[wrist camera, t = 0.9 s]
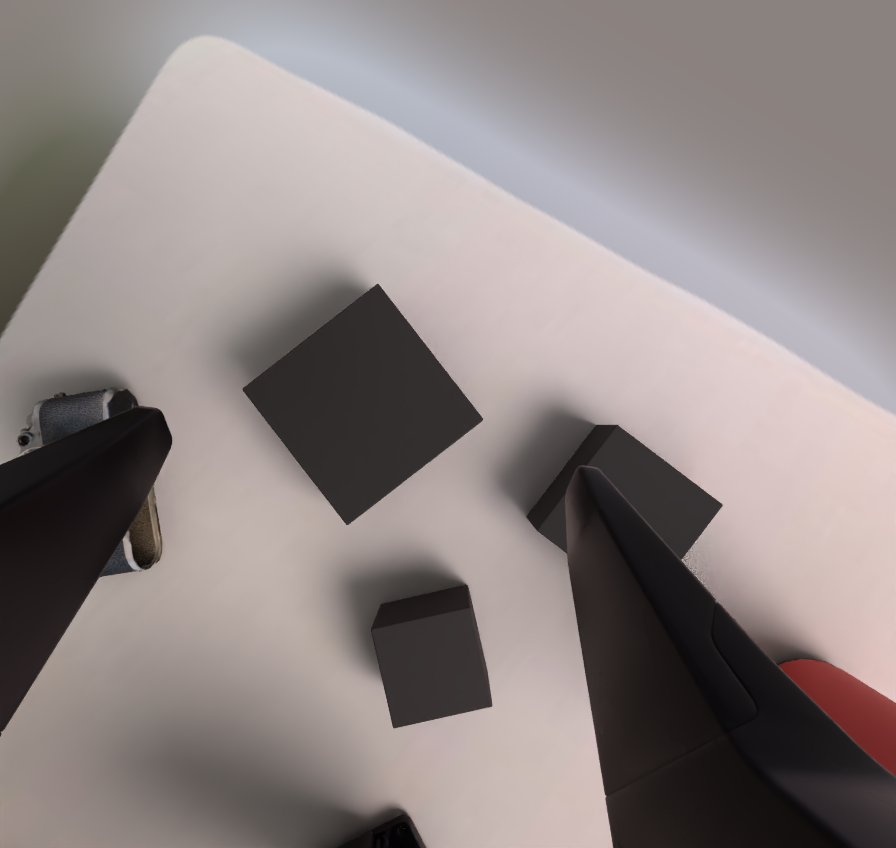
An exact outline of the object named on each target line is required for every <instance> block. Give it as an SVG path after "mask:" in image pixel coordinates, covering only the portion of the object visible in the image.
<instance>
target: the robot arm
mask: <svg viewBox="0 0 896 848" xmlns="http://www.w3.org/2000/svg"><path fill="white" fill-rule="evenodd" d="M171 445H172V436H171V433H170V430H169V428H168V425H167V423H166V420H165V418H164V415H163V413H162V412H161V411H160V410H159V409H157V408H153V407H145V406H136V407H133V408H131V409H129V410H126V411H124V412H122V413H119V414H117V415H115V416H112V417H110V418H108V419H106V420H103V421H101V422H99V423H96V424H94V425H92V426H89V427H87V428H85V429H82V430H80V431H78V432H75V433H73V434H71V435H68V436H66V437H64V438H61V439H59V440H57V441H55V442H52V443H50V444H48V445H45V446H43V447H41V448H38V449H36V450H34V451H31V452H29V453H27V454H24V455H22V456H20V457H17V458H15V459H13V460H11V461H8V462H6V463H4V464H1V465H0V736H1V734H2V733H1V732H2V731H3V730H4V729H5V727H6V726H7V724H8V723H9V721H10V719H11V718H12V716H13V715H14V713H15V711H16V710H17V708H18V707H19V705H20V703H21V702H22V700H23V699H24V697H25V695H26V694H27V692H28V691H29V689H30V687H31V686H32V684H33V682H34V681H35V679H36V678H37V676H38V674H39V673H40V671H41V670H42V668H43V666H44V665H45V663H46V662H47V660H48V658H49V657H50V655H51V654H52V652H53V650H54V649H55V647H56V646H57V644H58V642H59V641H60V639H61V638H62V636H63V634H64V633H65V631H66V630H67V628H68V626H69V625H70V623H71V622H72V620H73V618H74V617H75V615H76V613H77V612H78V610H79V609H80V607H81V605H82V604H83V602H84V601H85V599H86V597H87V596H88V594H89V593H90V591H91V589H92V588H93V586H94V585H95V583H96V581H97V580H98V578H99V577H100V575H101V573H102V572H103V570H104V569H105V567H106V565H107V564H108V562H109V561H110V559H111V557H112V556H113V554H114V552H115V551H116V549H117V548H118V546H119V544H120V543H121V541H122V540H123V538H124V536H125V535H126V533H127V532H128V530H129V528H130V527H131V525H132V524H133V522H134V520H135V519H136V517H137V515H138V514H139V512H140V510H141V509H142V507H143V505H144V503H145V501H146V499H147V497H148V495H149V493H150V491H151V489H152V486H153V484H154V482H155V480H156V478H157V476H158V474H159V472H160V470H161V468H162V465H163V463H164V461H165V459H166V457H167V455H168V453H169V451H170V449H171ZM565 508H566V532H567V555H568V566H569V574H570V580H571V586H572V592H573V599H574V605H575V611H576V617H577V623H578V630H579V636H580V642H581V648H582V655H583V661H584V667H585V673H586V679H587V686H588V692H589V698H590V704H591V711H592V717H593V723H594V729H595V735H596V742H597V748H598V754H599V760H600V767H601V773H602V779H603V785H604V792H605V795H606V796H607V797H606V805H607V812H608V818H609V824H610V830H611V837H612V843H613V848H896V776H895V775H893V774H892V773H891V772H889V771H888V770H887V769H886V768H884V767H883V766H882V765H881V764H880V763H878V762H877V761H876V760H875V759H873V758H872V757H871V756H870V755H869V754H868V753H867V752H866V751H865V750H864V749H863V748H861V747H860V746H859V745H858V744H857V743H856V742H855V741H854V740H853V739H852V738H851V737H850V736H849V735H848V734H847V733H846V732H845V731H844V730H843V729H842V728H841V727H840V726H839V725H838V724H837V723H836V722H835V721H834V720H833V719H832V718H831V717H830V716H829V715H828V714H827V713H826V712H825V711H824V710H823V709H821V708H820V707H819V706H818V705H817V704H816V703H815V702H814V701H813V700H812V699H811V698H810V697H809V696H808V695H807V694H806V693H805V692H804V691H803V690H802V689H801V688H800V687H799V686H798V685H797V684H796V683H795V682H794V681H793V680H792V679H791V678H790V677H789V676H788V675H787V674H786V673H785V672H784V671H783V670H782V669H781V668H780V667H779V666H778V665H777V664H776V663H775V662H774V661H773V660H772V659H771V658H770V657H769V656H768V655H767V654H766V653H765V652H764V651H763V650H762V649H761V648H760V647H759V646H758V645H757V644H756V643H755V642H754V641H753V639H752V638H751V637H750V636H749V635H748V634H747V633H746V632H745V631H744V630H743V629H742V628H741V627H740V625H739V624H738V623H737V622H736V621H735V620H734V619H733V618H732V617H731V616H730V614H729V613H728V612H727V611H726V610H725V609H724V608H723V607H722V606H721V604H720V603H716V599H715V598H714V597H713V596H712V595H711V593H710V592H709V591H708V590H707V589H706V588H705V587H704V586H703V584H702V583H701V582H700V581H699V580H698V579H697V578H696V577H695V576H694V574H693V573H692V572H691V571H690V570H689V569H688V568H687V567H686V565H685V564H684V563H683V562H682V561H681V560H680V559H679V558H678V556H677V555H676V554H675V553H674V552H673V551H672V550H671V549H670V548H669V546H668V545H667V544H666V543H665V542H664V541H663V540H662V539H661V537H660V536H659V535H658V534H657V533H656V532H655V531H654V530H653V529H652V527H651V526H650V525H649V524H648V523H647V522H646V521H645V520H644V518H643V517H642V516H641V515H640V514H639V513H638V512H637V511H636V510H635V508H634V507H633V506H632V505H631V504H630V503H629V502H628V501H627V499H626V498H625V497H624V496H623V495H622V494H621V493H620V492H619V491H618V489H617V488H616V487H615V486H614V485H613V484H612V483H611V482H610V480H609V479H608V478H607V477H606V476H605V475H604V474H603V473H602V471H601V470H600V469H598V468H596V467H590V466H583V465H582V466H579V467H578V468H577V469H576V471H575V473H574V475H573V477H572V479H571V482H570V484H569V486H568V488H567V491H566V495H565ZM401 826H404V827H406V828H405V829H402V828H400V827H401ZM338 848H426V847H425V845H424V843H423V841H422V839H421V837H420V835H419V833H418V831H417V830H416V828H415V826H414V824H413V822H412V820H411V819H410V817H408V816H406V815H401V816H398V817H397V818H395V819H393V820H391V821H389V822H387V823H385V824H383V825H381V826H379V827H377V828H375V829H374V830H372V831H370V832H367V833H365V834H363V835H361V836H359V837H357V838H355V839H353V840H351V841H350V842H348V843H346V844H344V845H342V846H340V847H338Z"/></svg>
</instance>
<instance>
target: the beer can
mask: <svg viewBox="0 0 896 848" xmlns="http://www.w3.org/2000/svg"><path fill="white" fill-rule="evenodd" d="M778 666H779V667H780V668H781V669H782V670H783V671H784V672H785V673H786V674H787V675H788V676H789V677H790V678H791V679H792V680H793V681H794V682H795V683H796V684H797V685H798V686H799V687H800V688H801V689H802V690H803V691H804V692H805V693H806V694H807V695H808V696H809V697H810V698H811V699H812V700H813V701H814V702H815V703H816V704H817V705H818V706H819V707H820V708H821V709H823V710H824V711H825V712H826V713H827V714H828V715H829V716H830V717H831V718H832V719H833V720H834V721H835V722H836V723H837V724H838V725H839V726H840V727H841V728H842V729H843V730H844V731H845V732H846V733H847V734H848V735H849V736H850V737H851V738H852V739H853V740H854V741H855V742H856V743H857V744H858V745H859V746H860V747H861V748H863V749H864V750H865V751H866V752H867V753H868V754H869V755H870V756H871V757H872V758H873V759H875V760H876V761H877V762H878V763H880V764H881V765H882V766H883V767H884V768H886V769H887V770H888V771H889V772H891V773H892V774H893V775H895V776H896V703H895V702H893V701H892V700H890V699H888V698H887V697H885V696H884V695H882V694H880V693H879V692H877V691H876V690H874V689H872V688H871V687H869V686H868V685H866V684H864V683H863V682H861V681H859V680H858V679H856V678H855V677H853V676H851V675H850V674H848V673H847V672H845V671H843V670H842V669H840V668H837V667H835V666H833V665H831V664H829V663H827V662H824V661H816V660H808V659H799V660H794V661H788V662H784V663H782V664H780V665H778Z"/></svg>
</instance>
